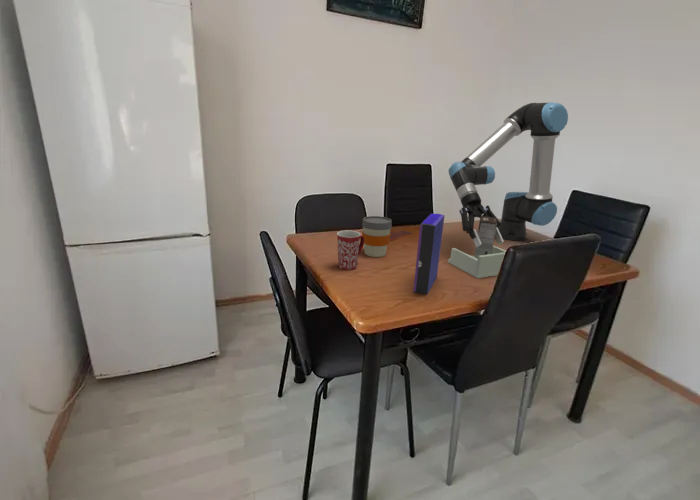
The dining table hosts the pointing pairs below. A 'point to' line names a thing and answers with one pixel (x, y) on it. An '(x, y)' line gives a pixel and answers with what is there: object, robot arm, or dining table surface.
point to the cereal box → (428, 253)
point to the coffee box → (486, 235)
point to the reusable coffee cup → (376, 235)
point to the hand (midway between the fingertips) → (490, 244)
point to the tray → (478, 262)
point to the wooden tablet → (398, 234)
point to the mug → (349, 248)
